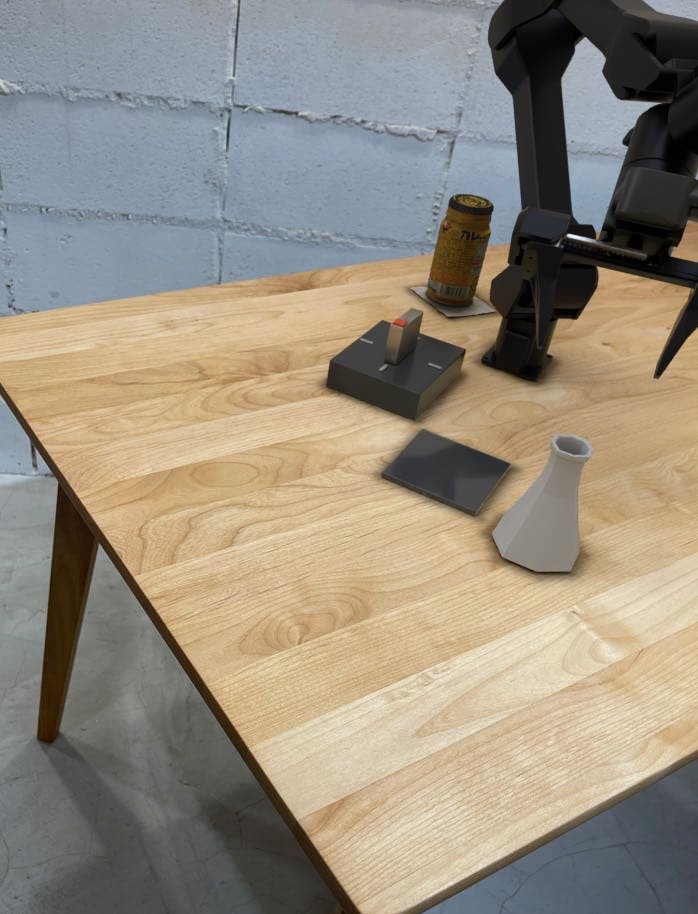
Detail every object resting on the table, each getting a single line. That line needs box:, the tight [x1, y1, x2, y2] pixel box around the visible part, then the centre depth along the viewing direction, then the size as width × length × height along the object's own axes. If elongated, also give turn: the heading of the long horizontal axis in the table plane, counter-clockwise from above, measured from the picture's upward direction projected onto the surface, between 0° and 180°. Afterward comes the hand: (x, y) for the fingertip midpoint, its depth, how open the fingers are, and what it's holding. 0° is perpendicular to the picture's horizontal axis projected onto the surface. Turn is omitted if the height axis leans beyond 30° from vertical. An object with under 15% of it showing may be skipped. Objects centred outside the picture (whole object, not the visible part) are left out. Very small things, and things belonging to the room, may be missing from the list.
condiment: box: [410, 193, 496, 318], centre depth 101 cm, size 7×8×12 cm
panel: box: [325, 319, 467, 421], centre depth 87 cm, size 12×10×3 cm
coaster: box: [380, 428, 512, 517], centre depth 76 cm, size 9×9×1 cm
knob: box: [384, 307, 425, 365], centre depth 84 cm, size 5×1×4 cm, turn 149°
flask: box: [491, 433, 595, 573], centre depth 66 cm, size 7×7×10 cm
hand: (597, 362), depth 66 cm, fingers open, 9 cm apart
